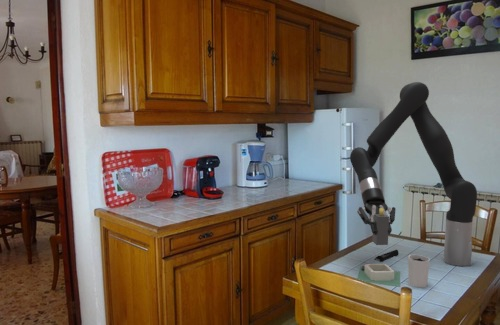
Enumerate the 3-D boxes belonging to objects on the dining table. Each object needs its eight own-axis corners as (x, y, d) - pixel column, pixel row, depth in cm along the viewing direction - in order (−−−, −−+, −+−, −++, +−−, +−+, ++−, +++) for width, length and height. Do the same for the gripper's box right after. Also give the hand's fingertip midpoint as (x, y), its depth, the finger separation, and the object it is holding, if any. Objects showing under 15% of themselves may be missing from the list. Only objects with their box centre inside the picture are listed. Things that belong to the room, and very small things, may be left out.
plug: (383, 241, 139) (384, 207, 137) (387, 244, 135) (389, 209, 133) (372, 241, 138) (373, 207, 137) (376, 245, 134) (378, 209, 133)
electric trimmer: (401, 257, 161) (401, 250, 161) (381, 265, 151) (381, 257, 151) (392, 255, 164) (393, 248, 164) (372, 263, 154) (372, 255, 154)
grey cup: (404, 282, 135) (405, 254, 134) (424, 283, 134) (425, 255, 133) (410, 290, 128) (411, 261, 127) (431, 291, 128) (432, 261, 127)
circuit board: (399, 274, 142) (400, 270, 142) (399, 289, 129) (399, 285, 129) (360, 269, 147) (360, 265, 147) (356, 283, 134) (356, 278, 134)
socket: (385, 271, 142) (385, 263, 142) (394, 280, 134) (395, 272, 134) (363, 271, 141) (364, 263, 141) (371, 280, 134) (372, 272, 133)
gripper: (355, 186, 142) (365, 228, 131) (393, 187, 142) (406, 228, 132) (350, 198, 147) (359, 239, 137) (387, 198, 148) (399, 238, 137)
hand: (382, 233), depth 134 cm, fingers closed on plug, 4 cm apart
